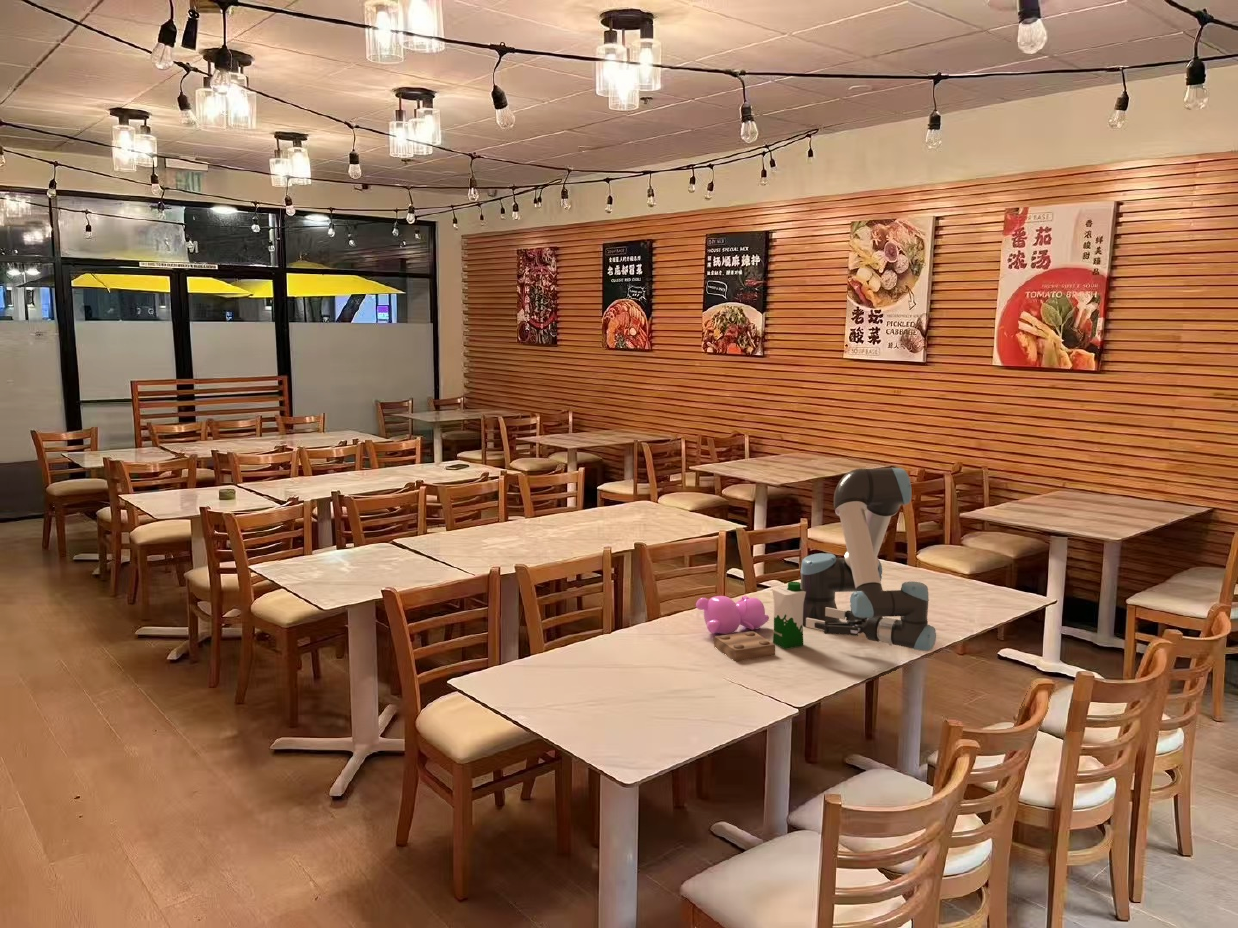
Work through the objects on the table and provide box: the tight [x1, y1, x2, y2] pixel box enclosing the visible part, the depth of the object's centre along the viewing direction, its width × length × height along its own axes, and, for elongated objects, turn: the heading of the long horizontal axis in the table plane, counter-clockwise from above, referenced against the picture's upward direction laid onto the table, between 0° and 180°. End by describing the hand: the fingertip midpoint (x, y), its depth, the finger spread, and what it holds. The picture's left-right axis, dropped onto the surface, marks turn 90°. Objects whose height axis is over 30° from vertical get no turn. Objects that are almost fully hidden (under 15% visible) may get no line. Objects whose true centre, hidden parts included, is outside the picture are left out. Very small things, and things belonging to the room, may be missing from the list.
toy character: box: [695, 595, 770, 635], centre depth 304 cm, size 16×13×25 cm
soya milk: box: [771, 581, 806, 650], centre depth 289 cm, size 9×9×20 cm
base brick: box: [713, 630, 776, 662], centre depth 285 cm, size 14×14×4 cm
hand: (816, 616), depth 283 cm, fingers open, 13 cm apart
